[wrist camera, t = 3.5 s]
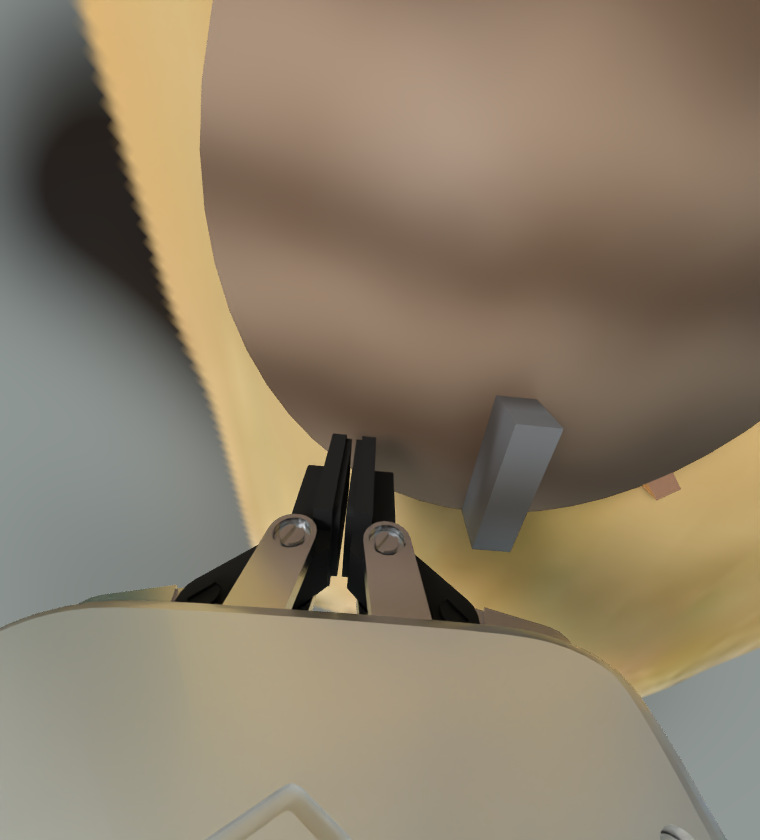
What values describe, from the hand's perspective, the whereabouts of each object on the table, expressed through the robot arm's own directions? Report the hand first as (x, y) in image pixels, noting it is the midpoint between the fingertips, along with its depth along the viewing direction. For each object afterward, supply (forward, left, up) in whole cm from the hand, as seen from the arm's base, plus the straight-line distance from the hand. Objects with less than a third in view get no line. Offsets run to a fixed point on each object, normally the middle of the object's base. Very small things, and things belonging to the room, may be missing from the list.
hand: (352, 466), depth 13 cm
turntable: (-8, +6, -4) cm, 11 cm away
